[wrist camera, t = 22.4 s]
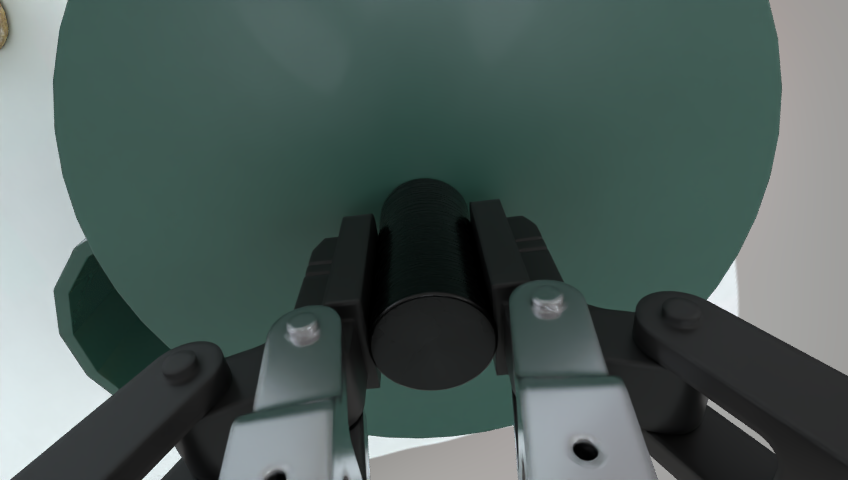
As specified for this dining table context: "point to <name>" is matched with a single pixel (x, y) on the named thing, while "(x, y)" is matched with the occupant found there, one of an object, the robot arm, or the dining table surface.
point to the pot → (101, 324)
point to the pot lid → (411, 162)
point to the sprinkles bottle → (3, 27)
